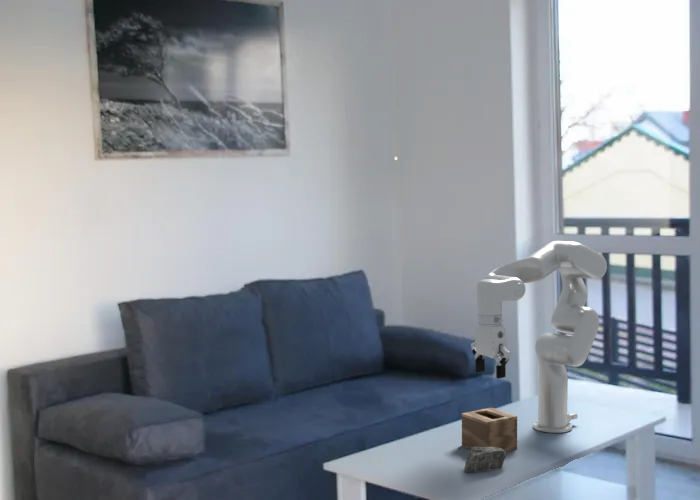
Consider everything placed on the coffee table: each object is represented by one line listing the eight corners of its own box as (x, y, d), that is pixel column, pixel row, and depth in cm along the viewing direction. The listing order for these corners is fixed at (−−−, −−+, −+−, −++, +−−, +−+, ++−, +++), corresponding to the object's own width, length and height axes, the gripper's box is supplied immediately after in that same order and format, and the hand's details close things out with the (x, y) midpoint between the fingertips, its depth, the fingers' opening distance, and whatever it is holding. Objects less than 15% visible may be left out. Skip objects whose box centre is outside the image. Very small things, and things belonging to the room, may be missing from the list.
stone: (483, 474, 269) (498, 444, 269) (498, 485, 263) (514, 454, 263) (450, 462, 262) (466, 431, 262) (465, 473, 256) (481, 442, 256)
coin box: (491, 438, 290) (491, 407, 289) (517, 448, 280) (517, 416, 279) (461, 445, 284) (461, 413, 283) (486, 455, 274) (487, 422, 273)
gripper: (518, 322, 273) (518, 378, 275) (480, 314, 288) (481, 367, 289) (499, 325, 269) (499, 382, 271) (462, 317, 284) (463, 371, 285)
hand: (490, 374), depth 280 cm, fingers open, 9 cm apart
